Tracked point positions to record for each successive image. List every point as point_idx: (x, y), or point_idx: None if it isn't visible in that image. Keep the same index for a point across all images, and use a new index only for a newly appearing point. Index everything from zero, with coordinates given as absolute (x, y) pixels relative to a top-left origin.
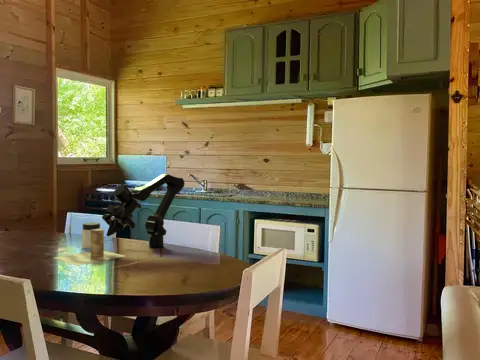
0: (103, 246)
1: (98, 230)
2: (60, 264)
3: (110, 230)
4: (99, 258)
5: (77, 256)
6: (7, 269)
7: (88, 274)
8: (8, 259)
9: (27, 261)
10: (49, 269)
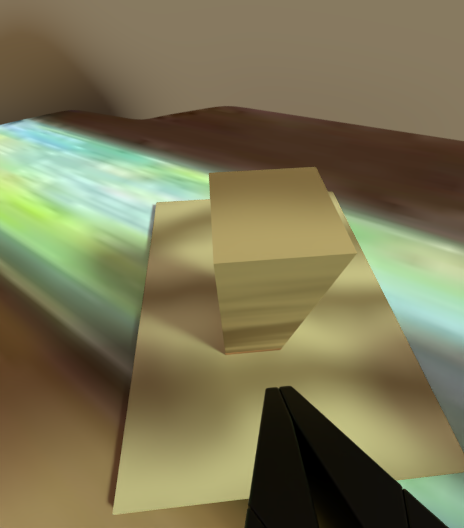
0: (223, 336)
1: (213, 197)
2: None
3: (269, 457)
4: (197, 311)
5: None
6: (270, 114)
7: (51, 191)
8: (389, 134)
9: (337, 151)
10: (199, 155)
